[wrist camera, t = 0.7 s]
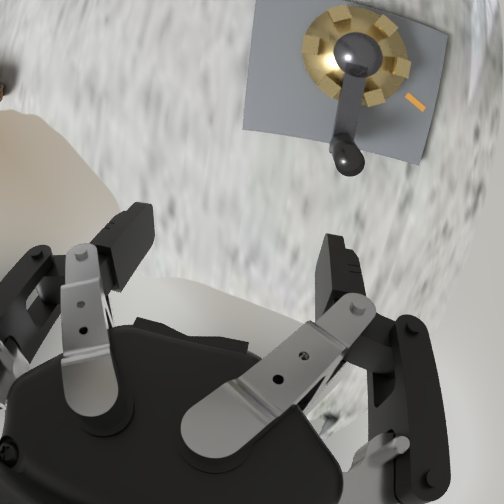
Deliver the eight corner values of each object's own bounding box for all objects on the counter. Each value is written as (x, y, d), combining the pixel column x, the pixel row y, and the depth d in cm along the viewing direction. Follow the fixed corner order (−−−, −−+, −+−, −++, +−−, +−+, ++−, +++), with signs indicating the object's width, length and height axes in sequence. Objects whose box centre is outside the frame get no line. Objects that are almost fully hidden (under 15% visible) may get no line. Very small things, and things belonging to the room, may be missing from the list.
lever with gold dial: (307, 1, 21) (310, -20, 14) (405, 26, 20) (440, 18, 14) (289, 138, 30) (285, 164, 23) (379, 156, 30) (402, 188, 23)
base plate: (259, -9, 22) (257, -12, 21) (441, 35, 21) (448, 35, 20) (244, 126, 32) (242, 129, 30) (414, 160, 30) (419, 165, 29)
